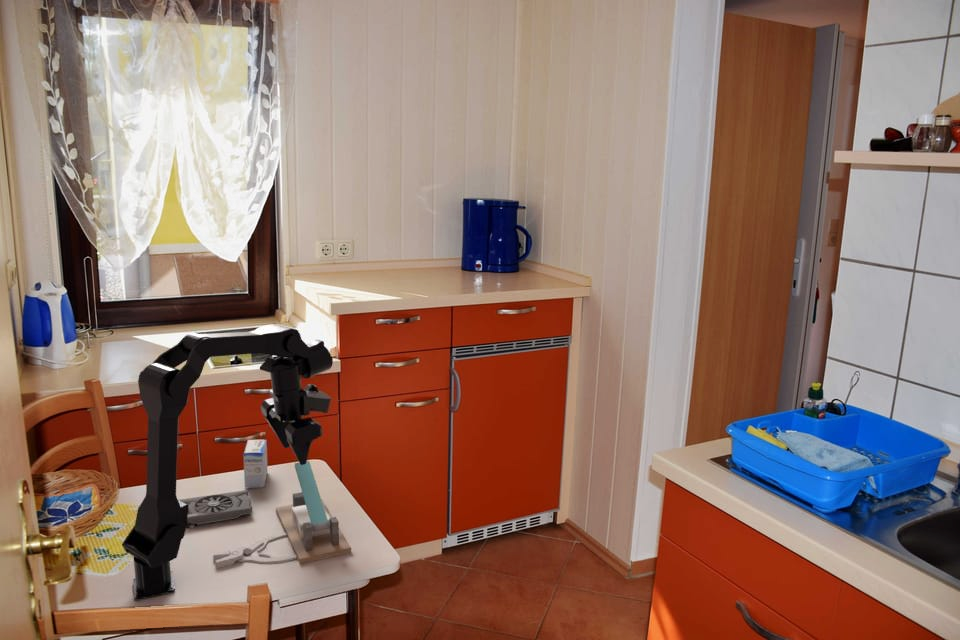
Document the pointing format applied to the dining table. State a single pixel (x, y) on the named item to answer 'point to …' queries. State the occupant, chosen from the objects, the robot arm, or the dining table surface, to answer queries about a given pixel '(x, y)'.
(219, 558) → the pliers
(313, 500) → the lever
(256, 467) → the medicine box
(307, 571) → the dining table surface
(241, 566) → the dining table surface
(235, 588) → the dining table surface
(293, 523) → the board
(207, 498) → the graphics card
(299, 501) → the block
